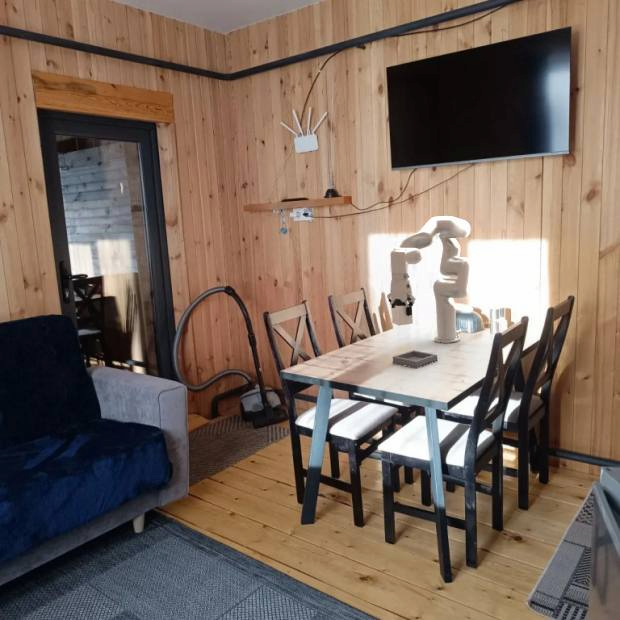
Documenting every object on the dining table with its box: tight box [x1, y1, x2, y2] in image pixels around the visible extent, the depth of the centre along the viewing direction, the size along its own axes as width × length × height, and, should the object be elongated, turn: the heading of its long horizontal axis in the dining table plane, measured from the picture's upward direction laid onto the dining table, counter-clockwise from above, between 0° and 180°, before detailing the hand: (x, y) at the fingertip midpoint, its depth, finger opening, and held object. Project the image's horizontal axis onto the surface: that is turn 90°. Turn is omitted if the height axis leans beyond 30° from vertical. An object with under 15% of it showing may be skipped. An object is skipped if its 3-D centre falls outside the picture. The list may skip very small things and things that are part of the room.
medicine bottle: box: [391, 299, 413, 326], centre depth 269 cm, size 7×7×12 cm
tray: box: [392, 349, 439, 369], centre depth 262 cm, size 14×14×3 cm
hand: (401, 314), depth 269 cm, fingers closed on medicine bottle, 8 cm apart
